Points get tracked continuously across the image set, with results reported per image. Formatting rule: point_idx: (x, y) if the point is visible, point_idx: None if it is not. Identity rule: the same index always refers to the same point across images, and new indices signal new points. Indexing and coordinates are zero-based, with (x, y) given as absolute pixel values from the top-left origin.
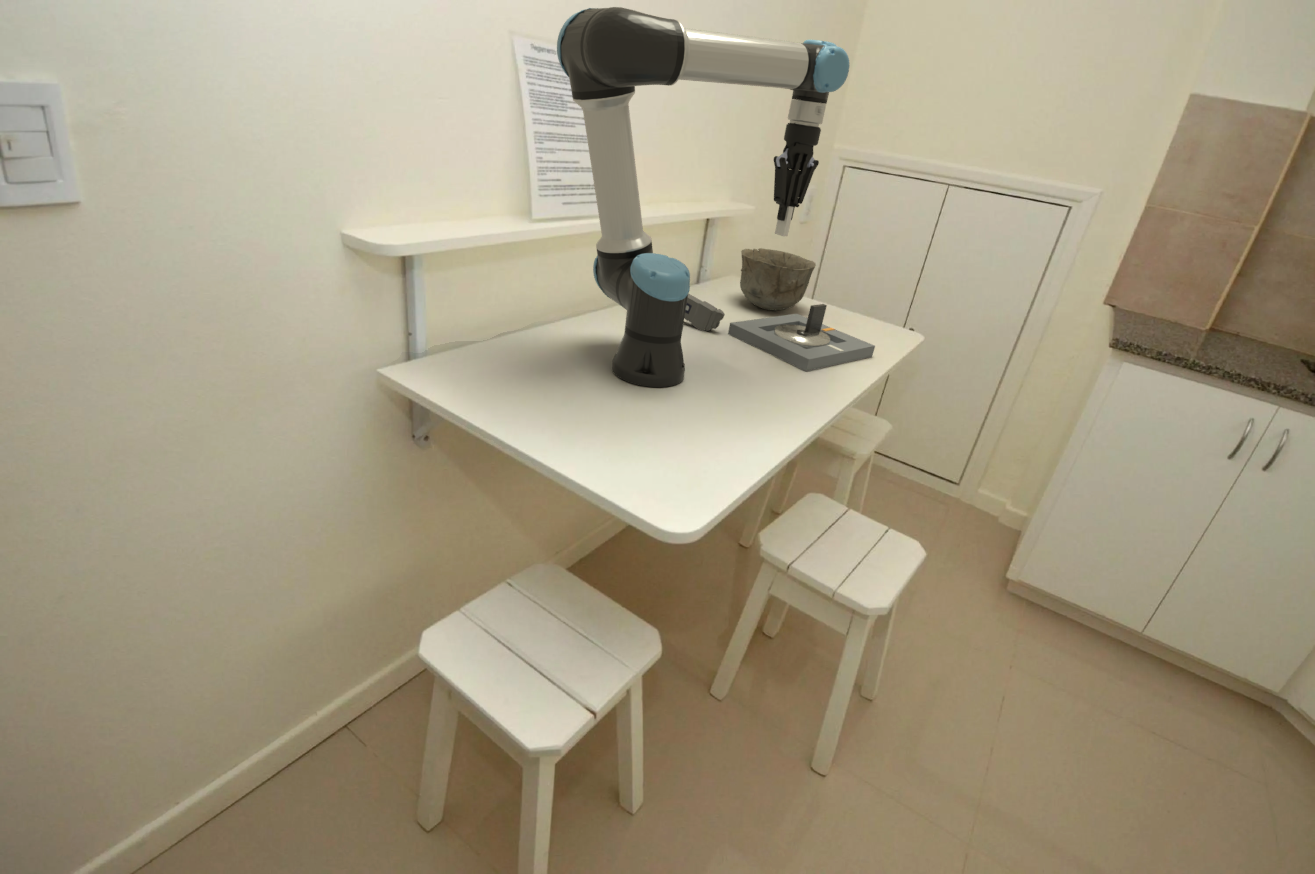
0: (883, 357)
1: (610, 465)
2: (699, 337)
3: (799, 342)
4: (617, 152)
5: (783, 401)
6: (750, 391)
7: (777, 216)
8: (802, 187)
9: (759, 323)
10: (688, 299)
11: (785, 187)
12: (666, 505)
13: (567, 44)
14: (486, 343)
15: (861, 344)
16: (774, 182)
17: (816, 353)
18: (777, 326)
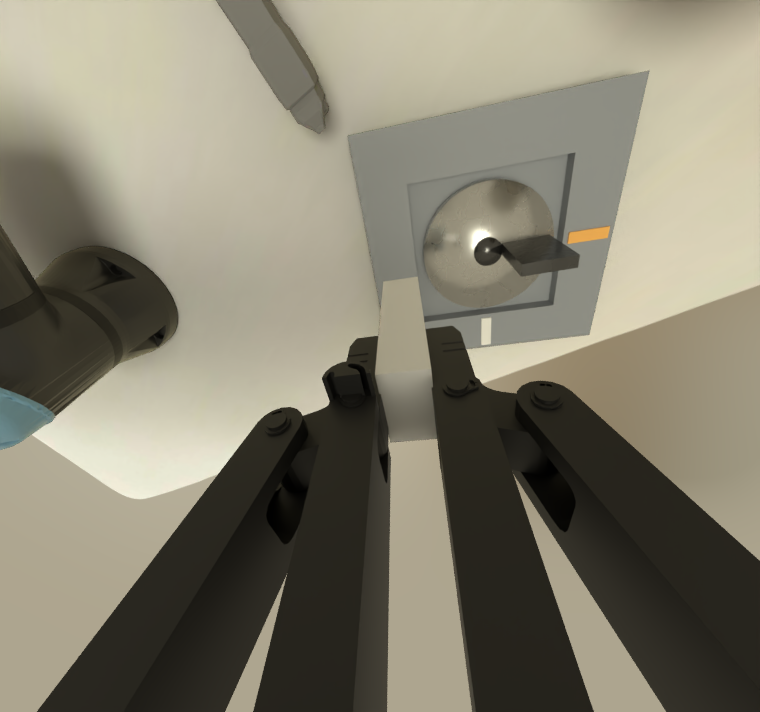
0: (600, 329)
1: (82, 445)
2: (264, 147)
3: (437, 290)
4: None
5: (294, 404)
6: (263, 377)
7: (350, 351)
8: (601, 589)
9: (432, 155)
10: (218, 2)
11: (267, 602)
12: (126, 483)
13: None
14: None
15: (566, 324)
16: (129, 591)
17: None
18: (464, 191)
